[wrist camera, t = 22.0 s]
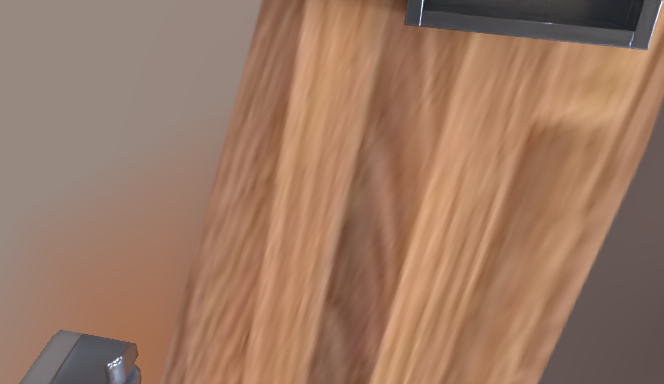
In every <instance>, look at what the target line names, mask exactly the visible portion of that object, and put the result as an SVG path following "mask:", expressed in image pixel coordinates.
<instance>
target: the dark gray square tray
mask: <svg viewBox="0 0 664 384" xmlns="http://www.w3.org/2000/svg"><path fill="white" fill-rule="evenodd" d="M662 1H663V0H407V7H406V15H405V23H404V24H405V25H410V26H421V27H429V28H439V29H448V30H458V31H468V32H477V33H487V34H496V35H506V36H516V37H525V38H535V39H545V40H554V41H564V42H574V43H583V44H593V45H602V46H612V47H622V48H631V49H641V50H648V47H649V44H650V41H651V37H652V34H653V31H654V27H655V24H656V21H657V17H658V14H659V11H660V7H661V4H662Z"/></svg>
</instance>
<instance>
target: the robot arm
mask: <svg viewBox="0 0 664 384" xmlns="http://www.w3.org/2000/svg"><path fill="white" fill-rule="evenodd" d="M137 356H138V350H137V345H136V344H135V343H130V342H124V341H119V340H114V339H109V338H103V337H98V336H93V335H88V334H82V333H76V332H71V331H65V330H60V331H59V332H57V333H56V334H55V335H54V336H52V338H51V339H50V341H49V342H48V343H47V345H46V346H45V348H44V349H43V351H42V352H41V353H40V355H39V356H38V358H37V359H36V360H35V362H34V363H33V365H32V366H31V368H30V369H29V370H28V372H27V373H26V375H25V376H24V378H23V379H22V380H21V382H20V383H19V384H141V371H140V369H139V368H138V367H137V366H136V365H135V364H134V363H135V360H136V359H137Z"/></svg>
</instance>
